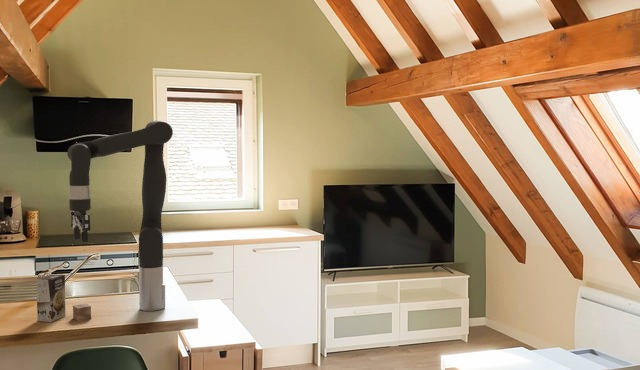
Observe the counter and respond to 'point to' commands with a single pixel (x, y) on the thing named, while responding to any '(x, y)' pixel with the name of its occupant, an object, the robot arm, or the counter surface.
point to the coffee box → (50, 298)
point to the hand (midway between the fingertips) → (80, 240)
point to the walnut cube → (81, 312)
